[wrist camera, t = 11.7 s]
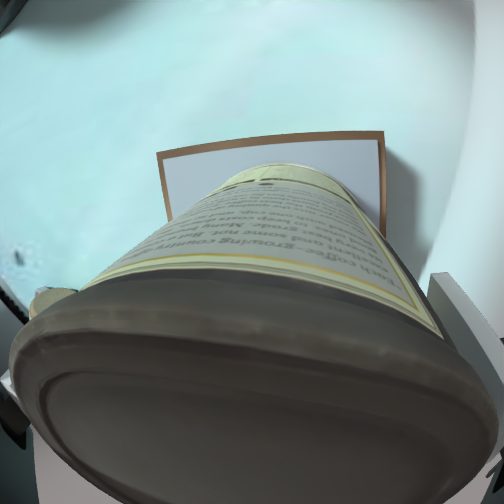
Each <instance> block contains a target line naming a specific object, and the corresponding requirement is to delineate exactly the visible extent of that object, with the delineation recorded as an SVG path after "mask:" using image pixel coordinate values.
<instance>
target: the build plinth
mask: <svg viewBox="0 0 504 504" xmlns="http://www.w3.org/2000/svg"><path fill="white" fill-rule="evenodd" d="M156 154H157V161H158V167H159V173H160V179H161V185H162V191H163V196H164V202H165V207H166V212H167V218H168V222H170V221H171V220H172V219H174V218H175V217H177V216H178V215H180V214H181V213H182V212H184V211H185V210H187V209H188V208H190V207H191V206H192V205H194V204H195V203H197V202H198V201H200V200H201V199H203V198H204V197H206V196H207V195H209V194H210V193H212V192H213V191H215V190H216V189H218V188H219V187H221V186H222V185H223V184H224V183H225V182H226V181H227V180H229V179H230V178H232V177H233V176H235V175H236V174H238V173H240V172H242V171H244V170H246V169H249V168H251V167H254V166H257V165H261V164H265V163H275V162H289V163H298V164H302V165H306V166H310V167H313V168H316V169H318V170H320V171H323V172H325V173H327V174H328V175H330V176H332V177H333V178H335V179H336V180H338V181H339V182H340V183H341V184H342V185H343V186H344V187H345V188H346V189H347V190H348V191H349V192H350V193H351V194H352V195H353V197H354V198H355V199H356V201H357V202H358V204H359V205H360V207H361V208H362V209H363V210H364V211H365V213H366V214H367V216H368V217H369V218H370V220H371V221H372V222H373V224H374V225H375V226H376V228H377V229H378V230H379V232H380V233H381V234H382V235H383V237H384V238H385V239H386V157H385V140H384V131H330V132H308V133H293V134H280V135H269V136H259V137H250V138H242V139H234V140H226V141H219V142H213V143H206V144H200V145H194V146H188V147H182V148H177V149H172V150H167V151H162V152H157V153H156Z"/></svg>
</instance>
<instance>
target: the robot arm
mask: <svg viewBox="0 0 504 504" xmlns="http://www.w3.org/2000/svg"><path fill="white" fill-rule="evenodd" d="M26 1H27V0H0V32H2V31H3V30H4V29H5V28H6V27H7V26H8V24H9V23H10V22H11V21H12V20H13V19H14V17H15V16H16V15H17V13H18V12H19V11H20V9H21V8H22V6H23V5H24V4H25V2H26ZM427 299H428V301H429V303H430V304H431V306H432V308H433V309H434V311H435V312H436V314H437V315H438V317H439V318H440V320H441V322H442V324H443V326H444V327H445V329H446V331H447V332H448V334H449V336H450V338H451V339H452V341H453V343H454V345H455V346H456V348H457V350H458V352H459V354H460V355H461V356H462V357H463V358H464V359H465V360H466V361H467V362H468V363H469V364H470V365H471V366H472V367H473V369H474V370H475V371H476V373H477V374H478V375H479V377H480V379H481V380H482V382H483V384H484V386H485V387H486V389H487V391H488V393H489V395H490V397H491V399H492V401H493V403H494V405H495V407H496V409H497V414H498V420H499V433H498V438H497V443H496V445H495V447H494V450H493V452H492V454H491V455H490V457H489V459H488V460H487V462H486V463H489V462H490V461H491V460H492V459H493V458H494V457H495V456H496V455H497V454H498V453H499V452H500V454H501V457H502V459H501V460H500V461H499V462H498V463H497V464H496V465H495V466H494V467H493V468H492V469H491V470H490V471H489V472H488V474H487V475H486V478H488V477H490V476H491V475H492V474H493V473H494V472H495V473H494V475H493V478H492V480H491V483H490V485H489V487H488V489H487V492H486V494H485V496H484V498H483V500H482V502H481V504H504V338H500V339H499V338H498V336H497V335H496V333H495V332H494V330H493V329H492V328H491V327H490V325H489V324H488V322H487V321H486V319H485V318H484V317H483V316H482V314H481V313H480V311H479V310H478V309H477V308H476V306H475V305H474V304H473V302H472V301H471V300H470V299H469V297H468V296H467V295H466V294H465V292H464V291H463V290H462V289H461V288H460V286H459V285H458V284H457V283H456V282H455V280H454V279H453V278H452V277H451V276H450V275H449V273H447V272H444V273H433V274H431V275H430V282H429V288H428V293H427ZM30 424H31V422H30V420H29V419H28V417H27V415H26V414H25V412H24V410H23V408H22V406H21V404H20V402H19V400H18V398H17V396H16V394H15V392H14V388H13V385H12V383H11V379H10V372H9V369H8V370H7V371H6V372H5V374H4V375H3V376H2V377H1V378H0V504H39V498H38V491H37V484H36V475H35V464H34V448H33V432H32V430H31V428H30V427H29V425H30Z"/></svg>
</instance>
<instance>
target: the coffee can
mask: <svg viewBox="0 0 504 504" xmlns="http://www.w3.org/2000/svg"><path fill="white" fill-rule="evenodd" d="M9 372H10V379H11V383H12V385H13V388H14V392H15V394H16V396H17V398H18V400H19V402H20V404H21V406H22V408H23V410H24V412H25V414H26V415H27V417H28V419H29V420H30V422H31V423H32V425H33V426H34V428H35V429H36V430H37V432H38V433H39V434H40V436H41V437H42V438H43V440H44V441H45V442H46V443H47V444H48V445H49V446H50V447H51V448H52V450H53V451H54V452H55V453H56V454H57V455H58V456H59V457H60V458H61V459H62V460H64V461H65V462H66V463H67V464H68V465H69V466H70V467H71V468H72V469H74V470H75V471H76V472H77V473H78V474H79V475H80V476H82V477H83V478H85V479H86V480H87V481H88V482H90V483H92V484H93V485H94V486H96V487H97V488H98V489H100V490H102V491H103V492H105V493H106V494H108V495H109V496H111V497H113V498H114V499H116V500H118V501H120V502H121V503H123V504H443V503H445V501H447V500H448V499H450V498H451V497H453V496H454V495H455V494H456V493H458V492H459V491H460V490H461V489H462V488H464V487H465V486H466V485H467V484H468V483H469V482H470V481H471V480H473V478H474V477H475V476H476V475H477V474H478V473H479V472H480V470H481V469H482V468H483V467H484V465H485V464H486V462H487V460H488V459H489V457H490V455H491V454H492V452H493V450H494V447H495V445H496V443H497V438H498V433H499V420H498V414H497V409H496V407H495V405H494V403H493V401H492V399H491V397H490V395H489V393H488V391H487V389H486V387H485V386H484V384H483V382H482V380H481V379H480V377H479V375H478V374H477V373H476V371H475V370H474V369H473V367H472V366H471V365H470V364H469V363H468V362H467V361H466V360H465V359H464V358H463V357H462V356H461V355H460V354H459V352H458V350H457V348H456V346H455V345H454V343H453V341H452V339H451V338H450V336H449V334H448V332H447V331H446V329H445V327H444V326H443V324H442V322H441V320H440V318H439V317H438V315H437V314H436V312H435V311H434V309H433V308H432V306H431V304H430V303H429V301H428V299H427V298H426V296H425V295H424V293H423V291H422V290H421V288H420V287H419V285H418V283H417V282H416V280H415V279H414V277H413V276H412V275H411V273H410V272H409V271H408V269H407V268H406V266H405V265H404V264H403V262H402V261H401V260H400V258H399V257H398V255H397V254H396V253H395V251H394V250H393V249H392V248H391V246H390V245H389V244H388V242H387V241H386V239H385V238H384V237H383V235H382V234H381V233H380V232H379V230H378V229H377V228H376V226H375V225H374V224H373V222H372V221H371V220H370V218H369V217H368V216H367V214H366V213H365V211H364V210H363V209H362V208H361V207H360V205H359V204H358V202H357V201H356V199H355V198H354V197H353V195H352V194H351V193H350V192H349V191H348V190H347V189H346V188H345V187H344V186H343V185H342V184H341V183H340V182H339V181H338V180H336V179H335V178H333V177H332V176H330V175H328V174H327V173H325V172H323V171H320V170H318V169H316V168H313V167H310V166H306V165H302V164H298V163H289V162H275V163H265V164H261V165H257V166H254V167H251V168H249V169H246V170H244V171H242V172H240V173H238V174H236V175H235V176H233V177H232V178H230V179H229V180H227V181H226V182H225V183H224V184H223V185H222V186H221V187H219V188H218V189H216V190H215V191H213V192H212V193H210V194H209V195H207V196H206V197H204V198H203V199H201V200H200V201H198V202H197V203H195V204H194V205H192V206H191V207H190V208H188V209H187V210H185V211H184V212H182V213H181V214H180V215H178V216H177V217H175V218H174V219H172V220H171V221H170V222H168V223H167V224H165V225H164V226H163V227H161V228H160V229H159V230H157V231H156V232H154V233H153V234H152V235H150V236H149V237H148V238H146V239H145V240H144V241H142V242H141V243H140V244H138V245H137V246H136V247H134V248H133V249H132V250H130V251H129V252H128V253H126V254H125V255H124V256H122V257H121V258H120V259H118V260H117V261H116V262H114V263H113V264H112V265H110V266H109V267H108V268H107V269H105V270H104V271H103V272H101V273H100V274H99V275H98V276H96V277H95V278H94V279H93V280H92V281H90V282H89V283H88V284H87V285H85V286H84V287H83V288H82V289H81V290H79V291H78V292H76V293H73V294H71V295H69V296H67V297H65V298H63V299H61V300H59V301H57V302H55V303H53V304H52V305H51V306H49V307H48V308H46V309H45V310H43V311H42V312H41V313H39V314H38V315H36V316H35V317H34V318H32V319H31V320H30V321H29V322H28V323H27V324H26V325H25V326H24V327H23V328H22V329H21V330H20V331H19V332H18V334H17V335H16V337H15V339H14V341H13V343H12V346H11V350H10V354H9Z"/></svg>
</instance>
